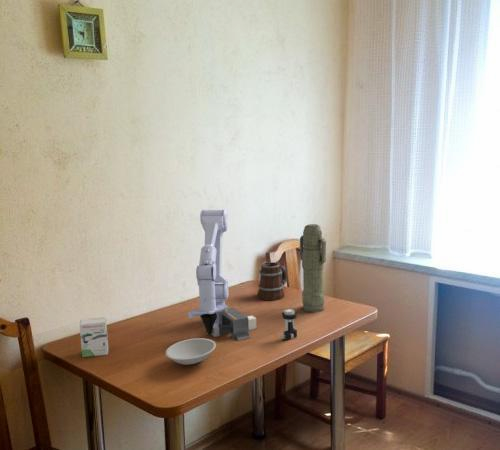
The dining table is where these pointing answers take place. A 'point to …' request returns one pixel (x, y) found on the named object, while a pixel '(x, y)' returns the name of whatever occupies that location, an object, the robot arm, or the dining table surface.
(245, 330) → the motor housing
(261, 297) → the mug
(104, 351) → the ink box
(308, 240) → the thermos
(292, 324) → the push button
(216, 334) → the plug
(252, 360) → the dining table surface
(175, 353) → the dish
